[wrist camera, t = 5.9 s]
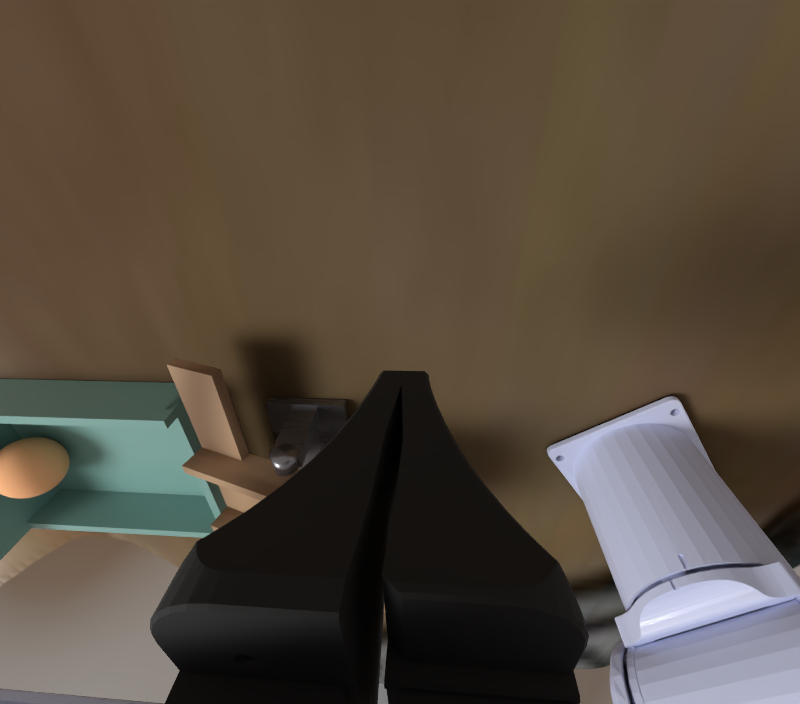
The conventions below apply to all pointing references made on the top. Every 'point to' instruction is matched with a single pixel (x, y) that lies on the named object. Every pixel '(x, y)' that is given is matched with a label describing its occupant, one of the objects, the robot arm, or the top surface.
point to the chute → (222, 442)
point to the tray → (108, 459)
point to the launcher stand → (302, 429)
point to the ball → (32, 467)
